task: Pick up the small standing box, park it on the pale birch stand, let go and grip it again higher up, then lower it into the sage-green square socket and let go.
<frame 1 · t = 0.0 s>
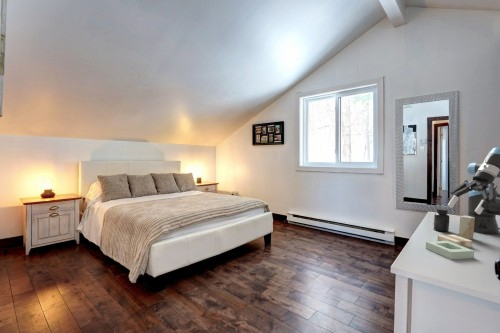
hand: (462, 209, 125), 15 cm above the table, tool tilted 35°, fingers open, 13 cm apart
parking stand: (454, 244, 119), on the table
box: (465, 238, 129), on the table
socket: (448, 252, 108), on the table
supplement bottle: (440, 230, 141), on the table
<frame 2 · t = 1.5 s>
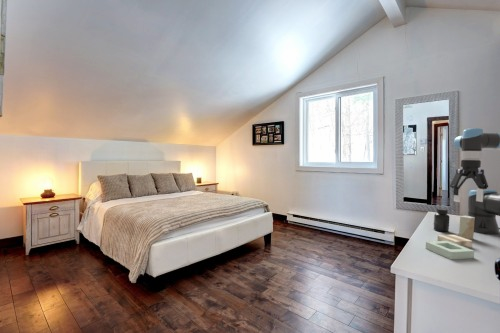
hand: (468, 201, 128), 19 cm above the table, tool pointing down, fingers open, 13 cm apart
nothing on the table moved.
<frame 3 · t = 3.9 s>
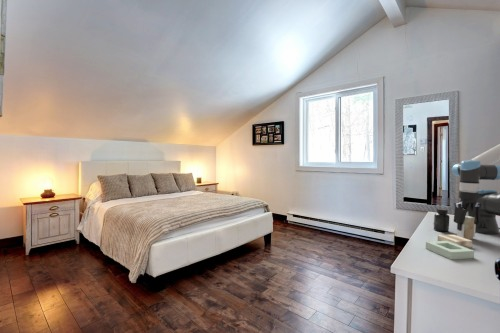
hand: (466, 236, 129), 1 cm above the table, tool pointing down, fingers closed on box, 6 cm apart
box: (465, 238, 129), on the table, touching gripper
everything else where it was.
when the fingers open (5 cm above the table, at t = 8.0 s): box drops 1 cm, resting on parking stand.
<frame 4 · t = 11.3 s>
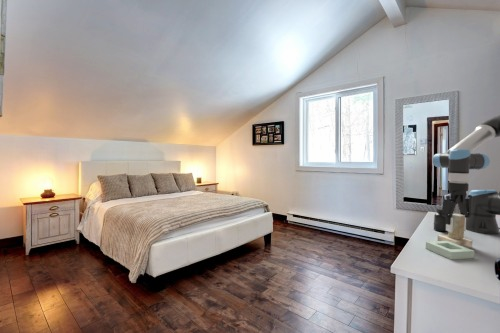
hand: (455, 230, 119), 6 cm above the table, tool pointing down, fingers open, 6 cm apart
box: (455, 238, 119), point 3 cm above the table, touching gripper, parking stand
everything else where it was.
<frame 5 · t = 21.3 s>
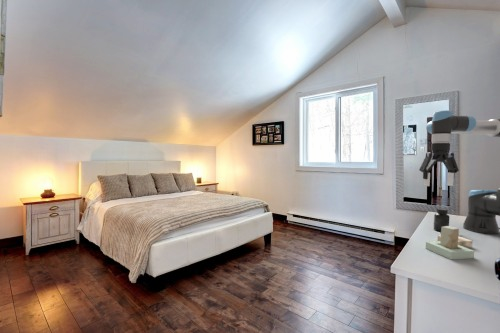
hand: (438, 185, 125), 27 cm above the table, tool pointing down, fingers open, 13 cm apart
box: (448, 253, 108), resting in socket
everything else where it was.
at the end: box 0.3 cm off-centre on the socket, point 0.0 cm above the socket's base; box tilted 0°; the gripper is holding nothing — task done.
